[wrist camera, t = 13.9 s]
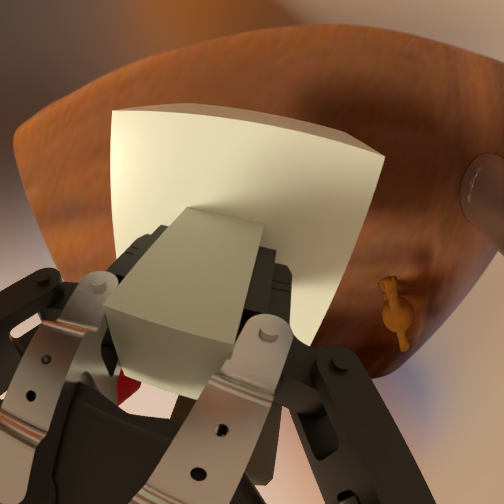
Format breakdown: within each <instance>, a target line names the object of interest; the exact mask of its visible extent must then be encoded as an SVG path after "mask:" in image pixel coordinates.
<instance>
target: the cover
mask: <svg viewBox="0 0 504 504" xmlns="http://www.w3.org/2000/svg"><path fill="white" fill-rule="evenodd" d="M384 159H385V156H383V155H382V154H380V153H379V152H377V151H376V150H374V149H372V148H371V147H369V146H368V145H366V144H364V143H363V142H361V141H359V140H358V139H356V138H354V137H352V136H351V135H349V134H347V133H345V132H343V131H340V130H336V129H333V128H329V127H325V126H321V125H318V124H314V123H310V122H305V121H301V120H297V119H292V118H288V117H283V116H278V115H273V114H268V113H262V112H256V111H250V110H244V109H237V108H230V107H222V106H214V105H205V104H194V103H179V104H164V105H153V106H143V107H135V108H127V109H120V110H113V111H112V125H111V201H112V217H113V229H114V240H115V249H116V258H117V259H118V258H119V256H120V255H121V254H122V253H124V251H125V250H126V249H127V248H128V247H130V245H131V244H132V243H133V242H134V241H135V240H136V239H137V238H139V237H141V236H143V235H145V234H152V233H153V232H154V231H155V230H156V229H157V228H158V227H159V226H160V225H166V226H169V227H168V228H167V229H166V230H165V231H164V232H163V233H162V234H161V236H160V237H159V238H158V239H157V240H156V241H155V242H154V243H153V245H152V246H151V247H150V248H149V249H148V250H147V251H146V253H145V254H144V255H143V256H142V257H141V259H140V260H139V261H138V262H137V263H136V264H135V266H134V267H133V268H132V269H131V270H130V272H129V273H128V274H127V275H126V276H125V278H124V279H123V280H122V281H121V283H120V284H119V285H118V286H117V288H116V289H115V290H114V291H113V293H112V294H111V295H110V296H109V298H108V299H107V300H106V302H105V303H104V304H103V307H104V311H105V315H106V319H107V322H108V326H109V329H110V333H111V336H112V340H113V343H114V346H115V349H116V352H117V355H118V358H119V361H120V364H121V367H122V370H123V372H124V375H125V376H127V377H130V378H132V379H135V380H138V381H140V382H143V383H146V384H149V385H151V386H154V387H157V388H160V389H163V390H166V391H169V392H172V393H175V394H179V395H182V396H185V397H189V398H192V399H196V400H197V399H198V398H199V396H200V394H201V393H202V391H203V389H204V388H205V386H206V384H207V382H208V381H209V379H210V378H211V376H212V375H213V374H214V373H218V372H219V371H220V370H221V368H222V366H223V364H224V362H225V361H226V359H227V357H228V355H229V353H230V352H232V351H233V347H234V344H235V343H236V341H237V337H238V333H239V328H240V323H241V318H242V314H243V309H244V305H245V301H246V297H247V293H248V289H249V285H250V281H251V277H252V273H253V269H254V265H255V261H256V257H257V253H258V249H259V246H261V247H266V248H270V249H274V250H276V258H275V263H278V264H283V265H287V266H288V268H289V270H290V271H291V273H292V285H291V286H292V291H291V310H290V327H291V329H292V331H293V334H294V335H295V336H296V338H297V339H299V340H300V341H301V342H302V343H304V344H306V345H308V346H310V345H311V343H312V341H313V339H314V337H315V335H316V333H317V331H318V329H319V327H320V325H321V322H322V320H323V318H324V316H325V314H326V312H327V310H328V308H329V305H330V303H331V301H332V299H333V297H334V294H335V292H336V290H337V288H338V285H339V283H340V281H341V278H342V276H343V274H344V271H345V269H346V267H347V264H348V262H349V259H350V257H351V254H352V252H353V249H354V247H355V244H356V242H357V239H358V236H359V234H360V231H361V228H362V226H363V223H364V220H365V217H366V215H367V212H368V209H369V206H370V203H371V200H372V197H373V194H374V191H375V188H376V185H377V182H378V179H379V176H380V173H381V169H382V166H383V163H384Z"/></svg>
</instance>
